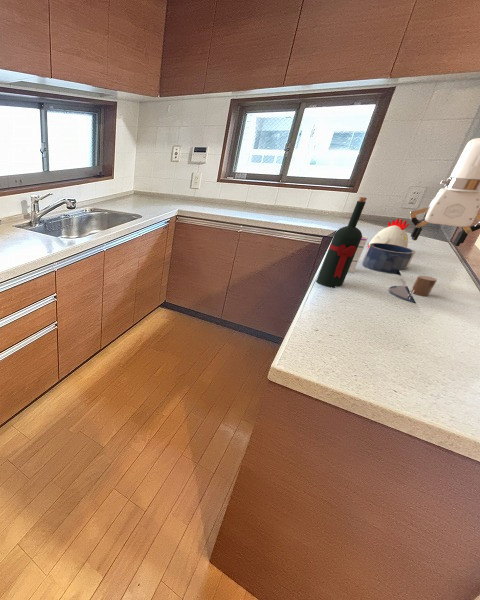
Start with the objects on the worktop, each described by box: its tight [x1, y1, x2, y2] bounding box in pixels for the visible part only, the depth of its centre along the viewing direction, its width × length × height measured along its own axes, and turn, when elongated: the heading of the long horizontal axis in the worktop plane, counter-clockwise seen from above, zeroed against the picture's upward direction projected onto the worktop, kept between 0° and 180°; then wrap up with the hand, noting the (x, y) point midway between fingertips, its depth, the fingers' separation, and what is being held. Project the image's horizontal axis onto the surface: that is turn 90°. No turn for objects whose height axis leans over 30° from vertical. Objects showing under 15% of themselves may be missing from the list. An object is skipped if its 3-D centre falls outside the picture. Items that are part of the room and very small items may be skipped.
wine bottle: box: [315, 196, 367, 289], centre depth 109 cm, size 8×10×30 cm
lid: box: [388, 275, 438, 304], centre depth 105 cm, size 15×15×7 cm
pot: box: [361, 243, 416, 275], centre depth 131 cm, size 14×19×8 cm
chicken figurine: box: [367, 218, 410, 249], centre depth 152 cm, size 14×14×15 cm
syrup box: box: [348, 234, 369, 273], centre depth 126 cm, size 6×6×14 cm
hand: (434, 242), depth 102 cm, fingers open, 9 cm apart
